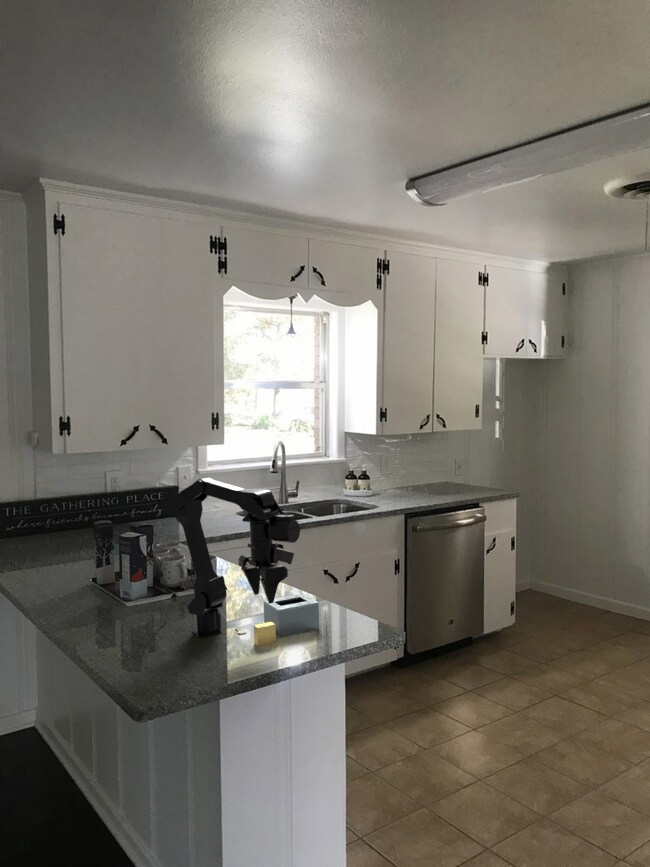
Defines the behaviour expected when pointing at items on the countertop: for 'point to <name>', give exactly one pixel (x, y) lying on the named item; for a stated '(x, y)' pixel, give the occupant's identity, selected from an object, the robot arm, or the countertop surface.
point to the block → (264, 634)
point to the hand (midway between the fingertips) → (263, 598)
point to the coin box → (292, 614)
